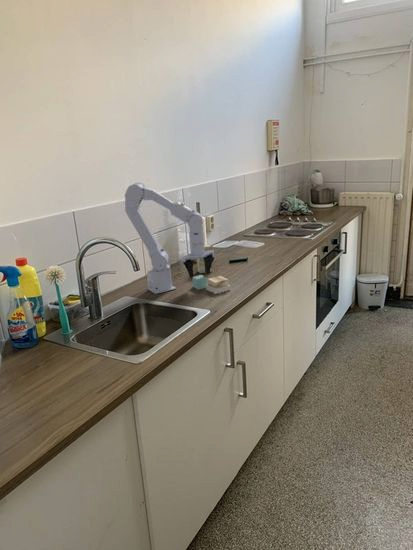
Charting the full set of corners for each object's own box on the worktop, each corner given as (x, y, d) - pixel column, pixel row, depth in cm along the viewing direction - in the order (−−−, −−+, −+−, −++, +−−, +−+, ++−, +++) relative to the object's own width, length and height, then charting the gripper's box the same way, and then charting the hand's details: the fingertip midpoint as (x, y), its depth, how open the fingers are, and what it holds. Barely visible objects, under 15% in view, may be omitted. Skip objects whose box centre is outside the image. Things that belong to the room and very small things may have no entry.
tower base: (215, 295, 163) (215, 289, 162) (206, 290, 169) (206, 284, 168) (230, 291, 166) (230, 285, 165) (221, 286, 172) (220, 281, 171)
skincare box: (199, 273, 190) (197, 247, 187) (197, 271, 194) (195, 245, 191) (213, 271, 192) (211, 245, 188) (210, 269, 196) (209, 244, 192)
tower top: (215, 288, 163) (215, 282, 162) (207, 284, 168) (207, 278, 167) (228, 285, 165) (228, 279, 165) (220, 281, 171) (220, 275, 170)
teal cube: (198, 289, 169) (197, 279, 168) (193, 287, 173) (192, 277, 172) (207, 287, 171) (206, 277, 170) (202, 284, 175) (201, 274, 174)
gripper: (185, 247, 160) (188, 281, 164) (217, 241, 167) (219, 273, 171) (177, 244, 166) (180, 277, 170) (208, 238, 172) (210, 270, 176)
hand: (199, 275), depth 171 cm, fingers open, 7 cm apart
